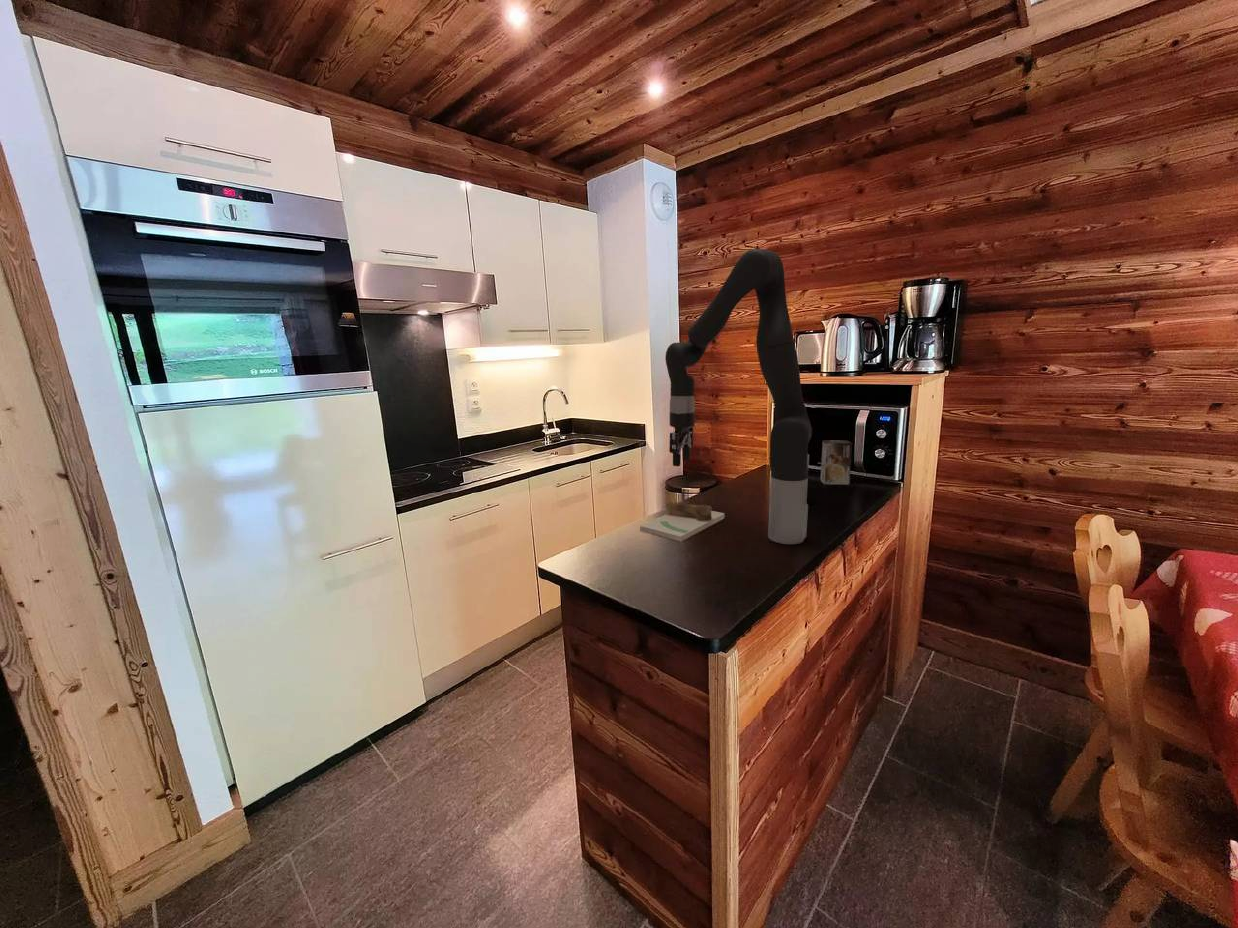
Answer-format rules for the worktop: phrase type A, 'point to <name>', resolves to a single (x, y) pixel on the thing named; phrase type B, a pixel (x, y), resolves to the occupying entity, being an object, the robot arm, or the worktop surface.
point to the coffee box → (836, 462)
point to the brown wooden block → (689, 510)
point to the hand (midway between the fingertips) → (681, 463)
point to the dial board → (679, 525)
